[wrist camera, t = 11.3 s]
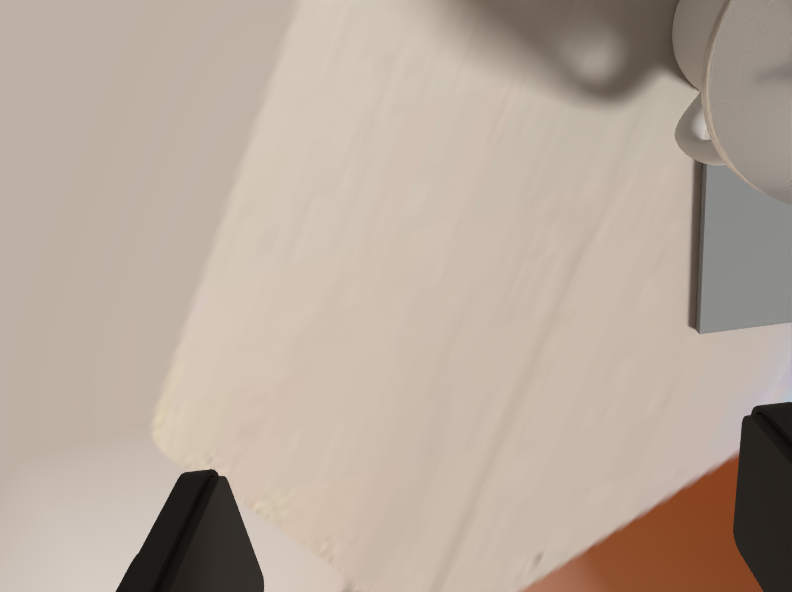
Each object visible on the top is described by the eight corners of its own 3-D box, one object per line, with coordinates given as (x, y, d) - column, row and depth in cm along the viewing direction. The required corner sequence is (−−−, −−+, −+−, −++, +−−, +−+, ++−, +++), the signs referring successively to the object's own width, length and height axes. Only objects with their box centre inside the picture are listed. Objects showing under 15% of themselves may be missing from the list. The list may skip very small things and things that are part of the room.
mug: (753, -108, 30) (920, -175, 20) (865, -6, 32) (1069, -21, 22) (595, 97, 35) (668, 125, 25) (701, 177, 36) (809, 234, 26)
